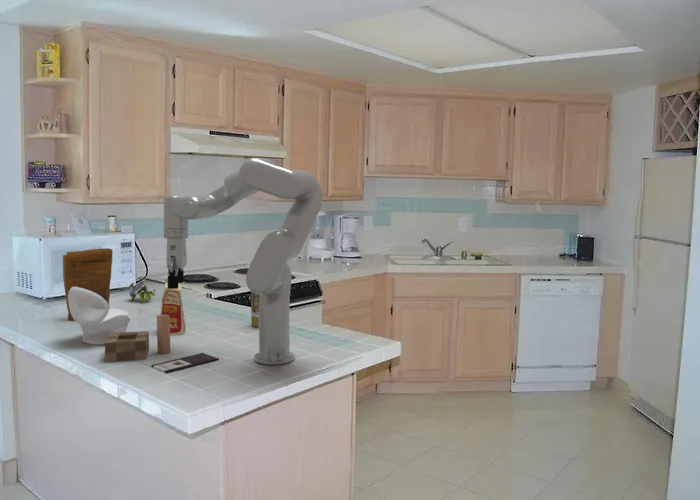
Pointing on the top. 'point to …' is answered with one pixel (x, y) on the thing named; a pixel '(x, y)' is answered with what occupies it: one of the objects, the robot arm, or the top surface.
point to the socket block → (127, 346)
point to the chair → (95, 316)
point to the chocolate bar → (184, 363)
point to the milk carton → (173, 309)
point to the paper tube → (254, 309)
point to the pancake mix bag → (88, 273)
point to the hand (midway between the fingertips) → (175, 285)
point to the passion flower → (140, 291)
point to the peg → (163, 334)
